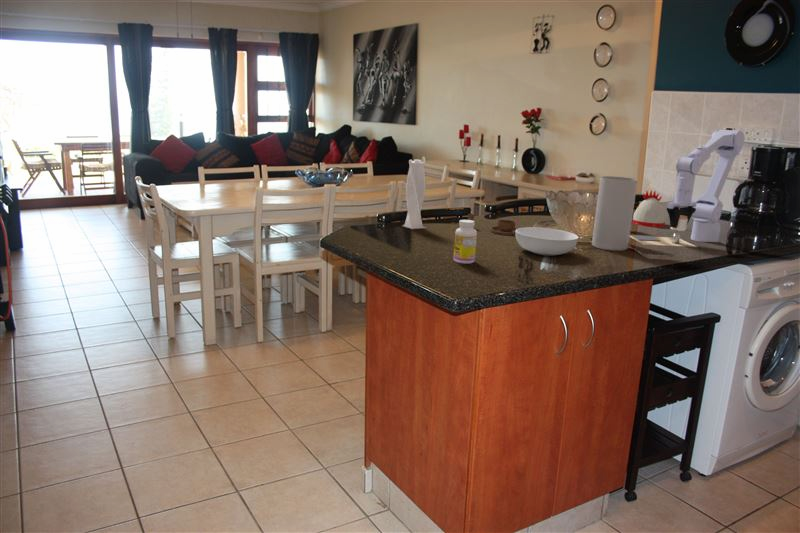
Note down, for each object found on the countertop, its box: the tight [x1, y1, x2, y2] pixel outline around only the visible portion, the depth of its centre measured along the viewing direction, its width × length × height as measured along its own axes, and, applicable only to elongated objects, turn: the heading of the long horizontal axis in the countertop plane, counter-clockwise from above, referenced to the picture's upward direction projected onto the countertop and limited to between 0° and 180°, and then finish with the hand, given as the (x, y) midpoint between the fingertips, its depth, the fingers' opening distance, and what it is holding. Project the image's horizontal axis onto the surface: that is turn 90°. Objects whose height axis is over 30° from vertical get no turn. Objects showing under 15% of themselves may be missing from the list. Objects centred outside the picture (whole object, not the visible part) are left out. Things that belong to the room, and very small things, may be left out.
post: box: [672, 232, 681, 244], centre depth 237 cm, size 2×2×4 cm
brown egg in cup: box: [669, 215, 688, 232], centre depth 236 cm, size 5×5×5 cm
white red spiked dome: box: [632, 190, 666, 228], centre depth 284 cm, size 14×14×15 cm
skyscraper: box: [401, 156, 427, 230], centre depth 245 cm, size 8×8×28 cm
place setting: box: [467, 213, 519, 236], centre depth 251 cm, size 18×20×6 cm
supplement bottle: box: [452, 219, 478, 264], centre depth 197 cm, size 7×7×13 cm
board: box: [629, 235, 698, 248], centre depth 241 cm, size 20×16×2 cm
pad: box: [630, 234, 660, 241], centre depth 243 cm, size 8×8×1 cm
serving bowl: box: [514, 226, 579, 257], centre depth 217 cm, size 21×21×7 cm
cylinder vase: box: [591, 175, 638, 252], centre depth 228 cm, size 12×12×25 cm
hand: (678, 226), depth 236 cm, fingers closed on brown egg in cup, 5 cm apart
